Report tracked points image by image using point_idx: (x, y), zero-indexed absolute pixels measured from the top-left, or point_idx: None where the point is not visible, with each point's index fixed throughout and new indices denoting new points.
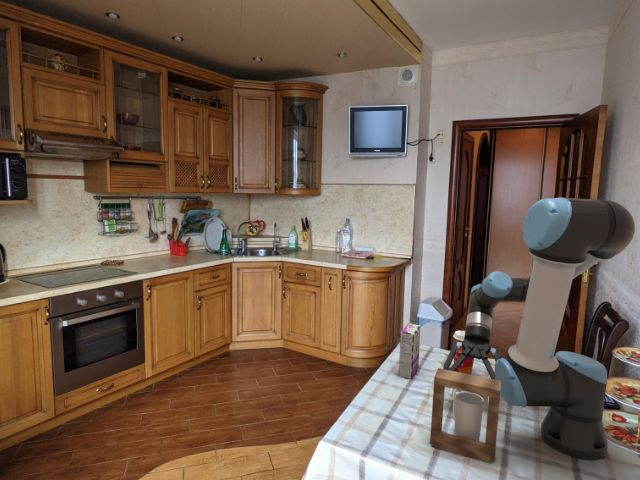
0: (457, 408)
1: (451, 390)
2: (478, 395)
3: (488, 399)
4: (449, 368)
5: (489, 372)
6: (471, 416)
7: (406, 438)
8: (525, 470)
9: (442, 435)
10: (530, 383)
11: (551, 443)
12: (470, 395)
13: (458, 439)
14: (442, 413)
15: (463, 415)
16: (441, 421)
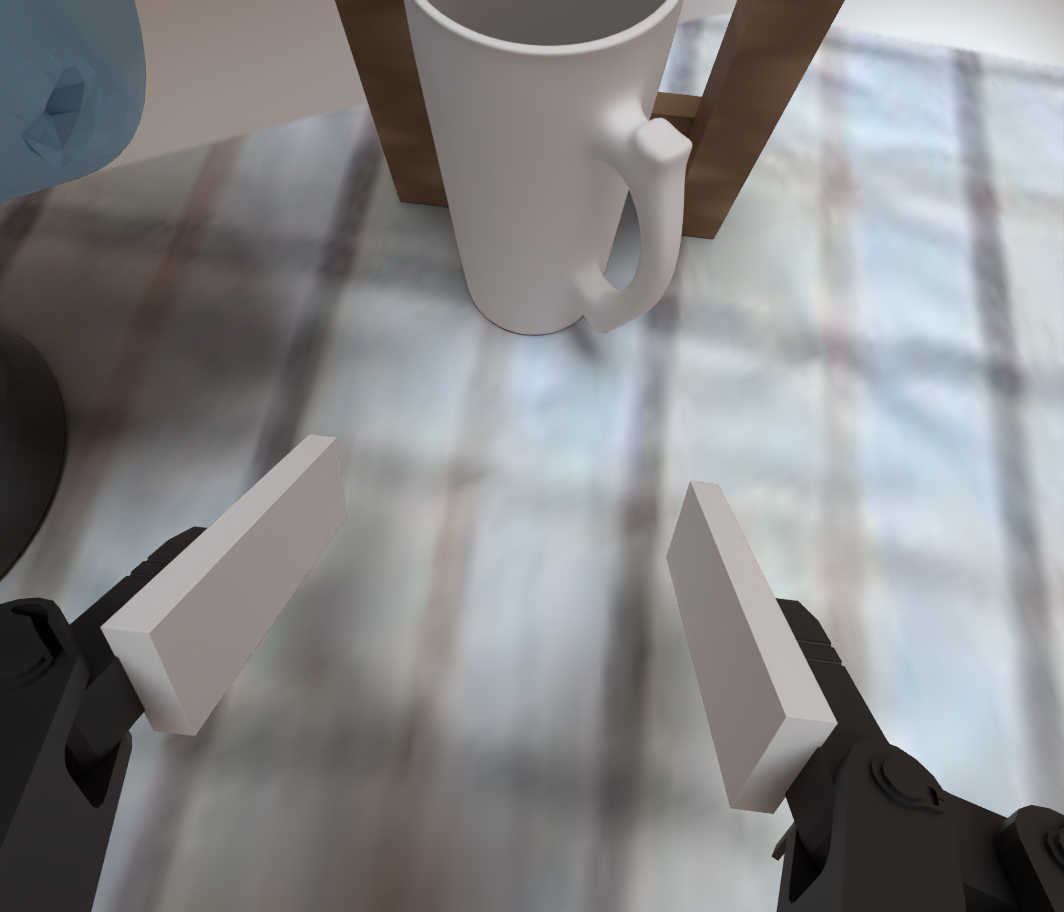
0: (638, 22)
1: (712, 504)
2: (438, 11)
3: (320, 448)
4: (949, 855)
5: (28, 849)
6: (521, 9)
7: (834, 206)
8: (277, 147)
9: (678, 97)
10: None
11: (30, 359)
12: (527, 83)
13: None
14: (738, 29)
15: (582, 24)
16: (717, 65)
